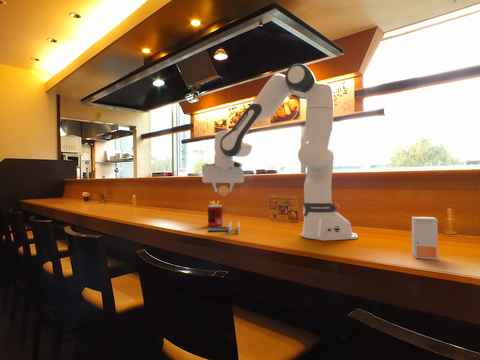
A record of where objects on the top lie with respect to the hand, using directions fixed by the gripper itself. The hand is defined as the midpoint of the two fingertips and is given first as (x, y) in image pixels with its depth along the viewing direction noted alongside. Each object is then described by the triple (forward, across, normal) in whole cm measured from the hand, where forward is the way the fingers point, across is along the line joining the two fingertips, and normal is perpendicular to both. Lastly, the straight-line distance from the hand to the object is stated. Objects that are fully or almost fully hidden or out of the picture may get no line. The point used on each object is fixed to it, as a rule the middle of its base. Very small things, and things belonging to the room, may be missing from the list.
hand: (223, 192), depth 142 cm
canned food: (+19, -1, +16) cm, 25 cm away
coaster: (+19, -2, +1) cm, 19 cm away
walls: (+18, +5, -4) cm, 19 cm away
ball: (+2, 0, 0) cm, 2 cm away
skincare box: (+16, +48, -69) cm, 86 cm away
